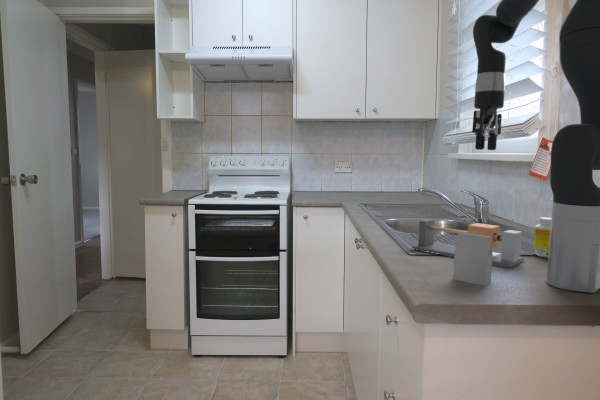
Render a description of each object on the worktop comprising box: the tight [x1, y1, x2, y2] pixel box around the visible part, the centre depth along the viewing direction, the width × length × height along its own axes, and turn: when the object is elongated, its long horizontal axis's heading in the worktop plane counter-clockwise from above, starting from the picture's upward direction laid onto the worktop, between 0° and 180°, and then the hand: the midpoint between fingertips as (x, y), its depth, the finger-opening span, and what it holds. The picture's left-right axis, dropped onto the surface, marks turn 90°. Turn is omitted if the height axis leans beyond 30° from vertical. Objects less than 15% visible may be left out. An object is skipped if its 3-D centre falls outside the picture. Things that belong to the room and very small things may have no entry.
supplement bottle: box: [532, 216, 552, 259], centre depth 118 cm, size 6×6×10 cm
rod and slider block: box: [411, 218, 525, 269], centre depth 117 cm, size 26×10×8 cm, turn 46°
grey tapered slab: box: [452, 233, 493, 287], centre depth 93 cm, size 4×7×10 cm, turn 53°
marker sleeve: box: [467, 222, 501, 249], centre depth 113 cm, size 6×5×5 cm
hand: (485, 149), depth 123 cm, fingers open, 8 cm apart
